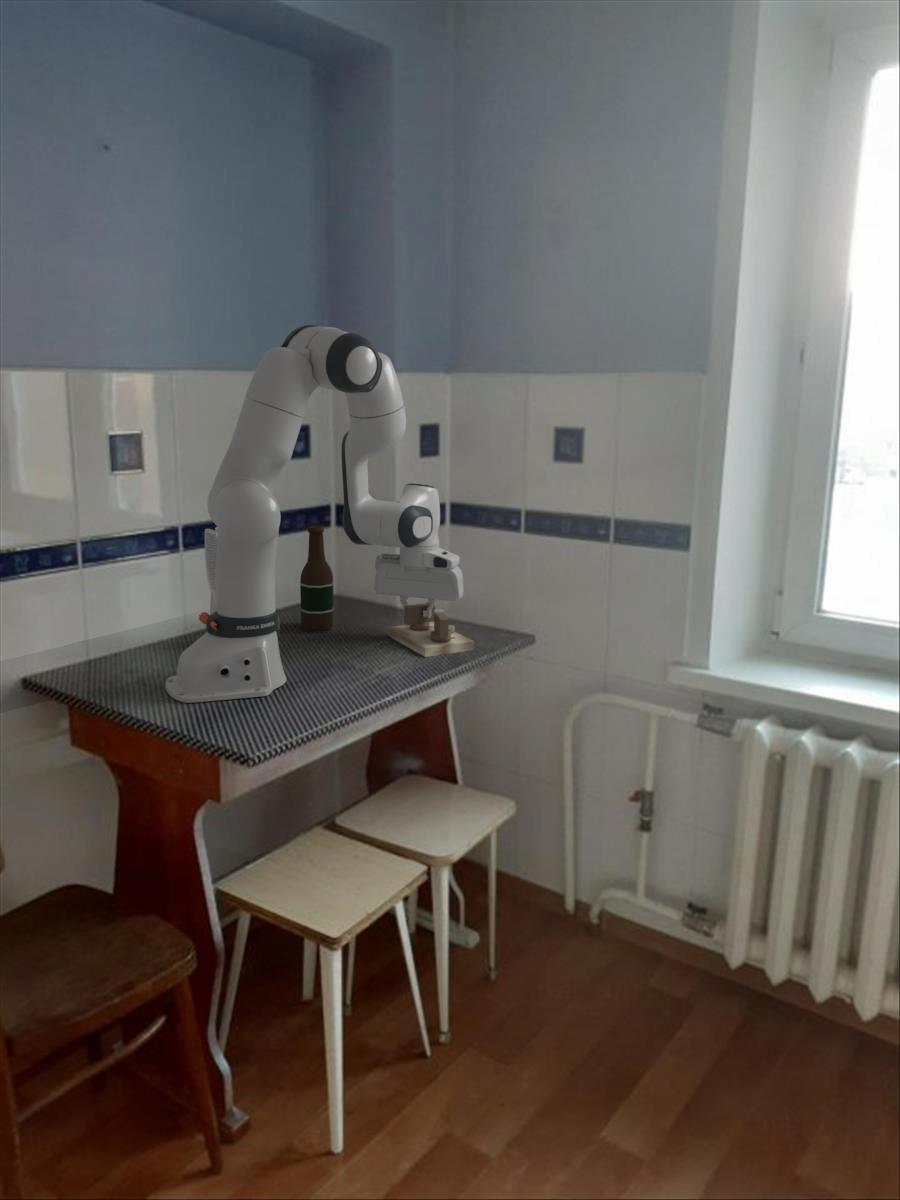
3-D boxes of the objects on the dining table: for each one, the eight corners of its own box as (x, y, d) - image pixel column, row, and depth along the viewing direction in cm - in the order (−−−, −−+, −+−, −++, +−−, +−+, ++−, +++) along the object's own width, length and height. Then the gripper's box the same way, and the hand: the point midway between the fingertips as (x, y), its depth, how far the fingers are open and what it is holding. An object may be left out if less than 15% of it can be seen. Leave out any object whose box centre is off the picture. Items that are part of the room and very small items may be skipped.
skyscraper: (251, 643, 206) (247, 517, 199) (239, 653, 198) (234, 523, 191) (214, 641, 206) (208, 516, 199) (201, 652, 198) (195, 522, 192)
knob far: (411, 632, 207) (411, 607, 206) (401, 627, 211) (401, 603, 210) (437, 628, 211) (438, 603, 210) (428, 623, 215) (428, 599, 213)
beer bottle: (338, 630, 215) (337, 528, 209) (305, 633, 212) (303, 530, 206) (329, 622, 222) (328, 523, 216) (297, 625, 219) (295, 524, 213)
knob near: (454, 643, 200) (454, 617, 198) (433, 644, 199) (434, 618, 197) (447, 634, 206) (448, 609, 205) (428, 635, 205) (428, 610, 204)
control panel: (425, 657, 197) (425, 640, 196) (388, 635, 212) (388, 620, 211) (474, 649, 203) (474, 634, 202) (434, 629, 218) (434, 614, 217)
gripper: (370, 554, 207) (369, 615, 210) (459, 562, 201) (457, 624, 204) (380, 550, 212) (379, 609, 216) (466, 557, 207) (464, 617, 210)
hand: (417, 616), depth 210 cm, fingers closed on knob far, 3 cm apart
